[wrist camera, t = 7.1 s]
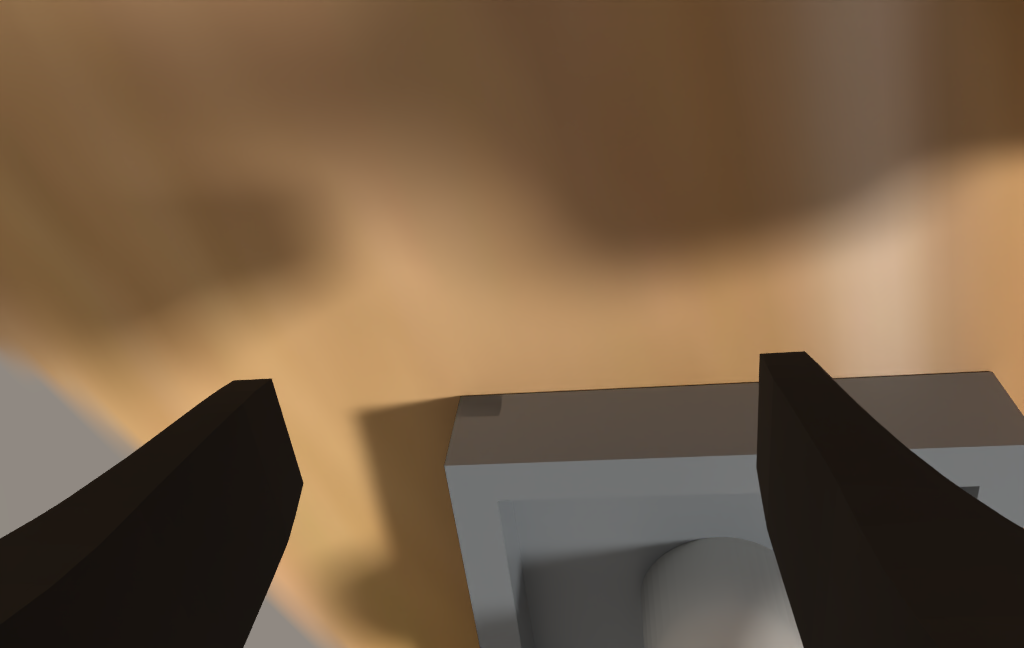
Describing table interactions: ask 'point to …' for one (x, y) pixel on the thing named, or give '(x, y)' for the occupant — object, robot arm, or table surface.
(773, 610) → the cylinder
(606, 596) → the tray
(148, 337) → the table surface
